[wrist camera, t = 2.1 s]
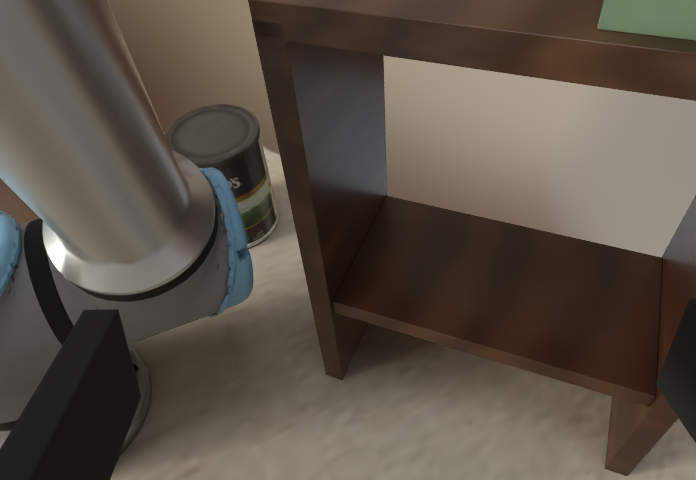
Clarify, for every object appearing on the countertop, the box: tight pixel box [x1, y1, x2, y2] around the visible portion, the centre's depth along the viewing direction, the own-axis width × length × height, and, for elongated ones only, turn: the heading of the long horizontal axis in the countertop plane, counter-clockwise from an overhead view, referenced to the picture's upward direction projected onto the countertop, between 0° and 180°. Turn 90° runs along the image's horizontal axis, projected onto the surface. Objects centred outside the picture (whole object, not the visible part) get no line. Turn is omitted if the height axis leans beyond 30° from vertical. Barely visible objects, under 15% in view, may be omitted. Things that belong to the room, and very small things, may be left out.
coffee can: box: [165, 104, 279, 248], centre depth 65 cm, size 10×10×14 cm
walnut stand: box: [248, 0, 696, 476], centre depth 41 cm, size 28×14×38 cm, turn 68°
